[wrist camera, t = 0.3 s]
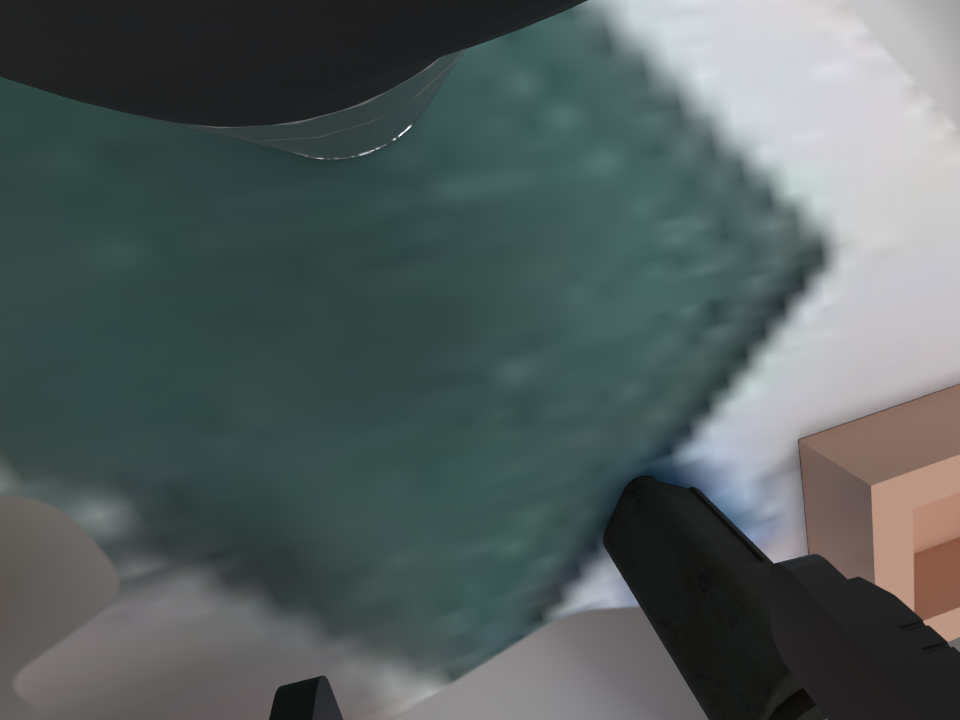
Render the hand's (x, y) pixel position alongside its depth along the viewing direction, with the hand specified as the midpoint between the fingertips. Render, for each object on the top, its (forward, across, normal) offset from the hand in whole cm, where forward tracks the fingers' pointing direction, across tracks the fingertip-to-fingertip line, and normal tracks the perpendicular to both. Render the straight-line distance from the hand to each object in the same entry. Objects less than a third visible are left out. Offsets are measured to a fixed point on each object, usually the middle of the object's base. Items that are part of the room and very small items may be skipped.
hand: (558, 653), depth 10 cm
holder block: (+19, -24, +15) cm, 34 cm away
